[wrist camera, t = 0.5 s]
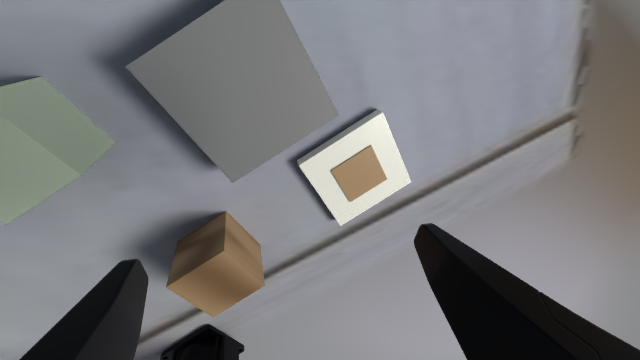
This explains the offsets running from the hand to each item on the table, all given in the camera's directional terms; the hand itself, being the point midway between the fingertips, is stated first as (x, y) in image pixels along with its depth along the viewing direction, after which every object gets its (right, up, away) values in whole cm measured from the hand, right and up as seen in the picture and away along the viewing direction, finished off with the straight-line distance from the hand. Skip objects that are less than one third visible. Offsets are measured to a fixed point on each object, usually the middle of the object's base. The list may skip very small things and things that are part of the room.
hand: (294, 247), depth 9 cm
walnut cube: (-8, -4, +16) cm, 18 cm away
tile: (+4, +3, +16) cm, 17 cm away
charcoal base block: (-5, +9, +11) cm, 15 cm away
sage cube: (-16, +5, +9) cm, 19 cm away
